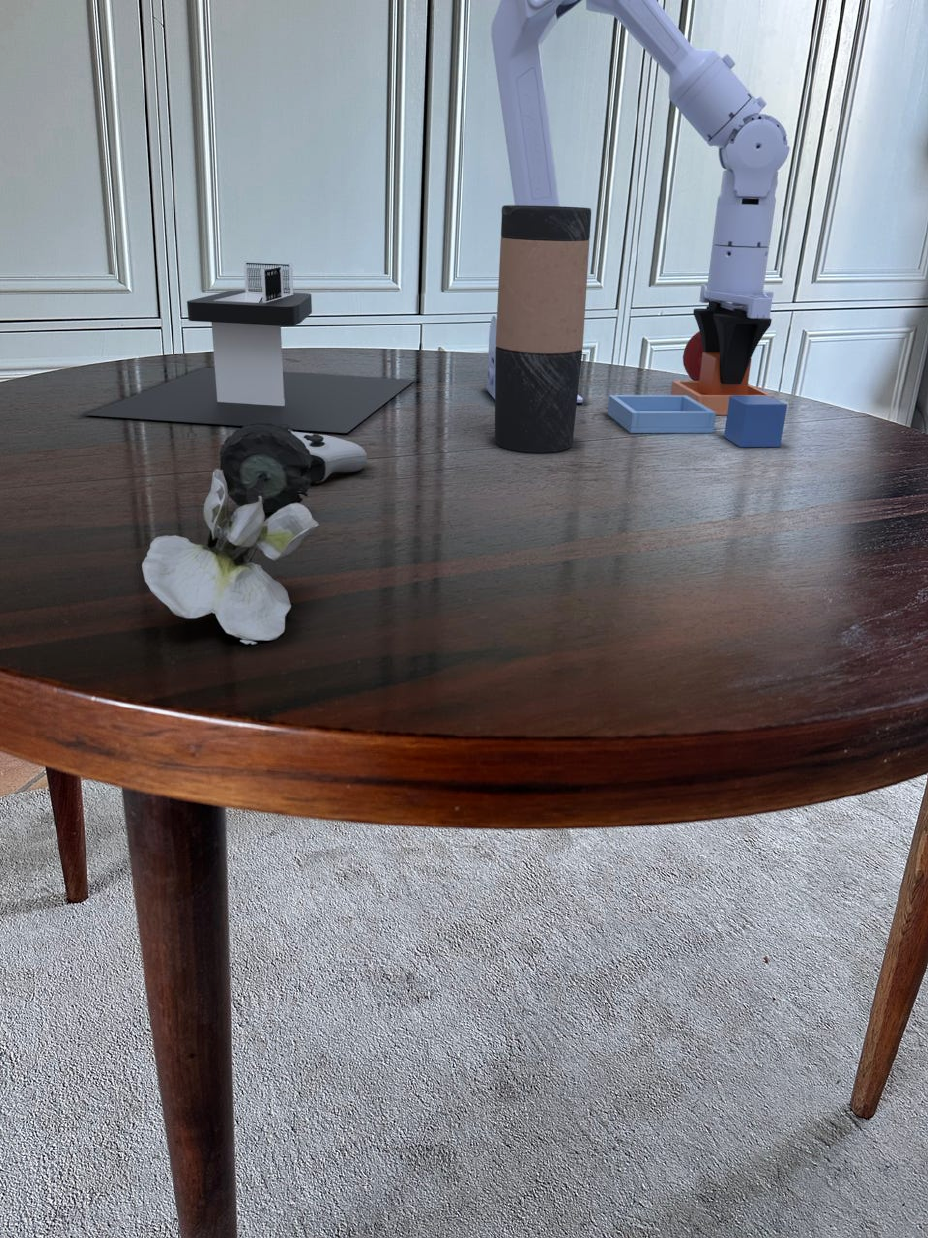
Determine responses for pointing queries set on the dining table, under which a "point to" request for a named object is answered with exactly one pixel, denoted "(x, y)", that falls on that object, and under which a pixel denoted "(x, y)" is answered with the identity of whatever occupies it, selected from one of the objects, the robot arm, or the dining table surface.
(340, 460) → the game controller
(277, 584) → the artificial flower
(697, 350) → the onion
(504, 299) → the travel mug
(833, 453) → the dining table surface
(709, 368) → the rust block
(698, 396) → the terracotta tray
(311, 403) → the black-topped pedestal
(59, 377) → the dining table surface
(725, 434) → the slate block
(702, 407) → the slate tray
